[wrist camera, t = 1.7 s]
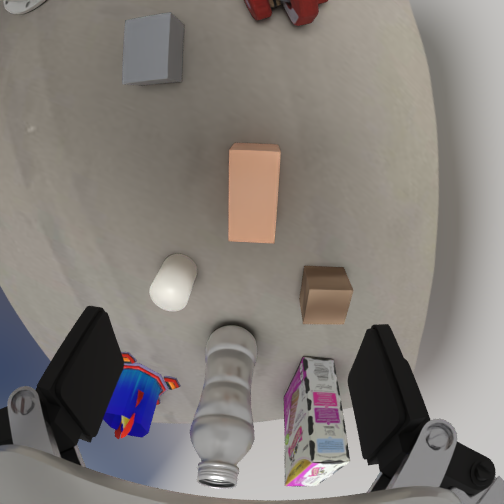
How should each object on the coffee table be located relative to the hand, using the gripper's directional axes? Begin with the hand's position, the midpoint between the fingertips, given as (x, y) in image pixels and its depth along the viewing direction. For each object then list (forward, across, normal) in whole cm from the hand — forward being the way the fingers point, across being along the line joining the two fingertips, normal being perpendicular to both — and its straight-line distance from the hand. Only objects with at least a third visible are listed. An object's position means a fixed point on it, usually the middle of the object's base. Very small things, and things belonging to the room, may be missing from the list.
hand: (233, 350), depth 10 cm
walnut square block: (+21, -8, +11) cm, 25 cm away
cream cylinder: (+20, +8, +10) cm, 24 cm away
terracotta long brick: (+21, 0, 0) cm, 21 cm away
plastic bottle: (+21, +2, +20) cm, 29 cm away
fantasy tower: (+21, +18, +33) cm, 43 cm away
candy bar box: (+21, -9, +29) cm, 37 cm away
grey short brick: (+20, +9, -13) cm, 26 cm away
